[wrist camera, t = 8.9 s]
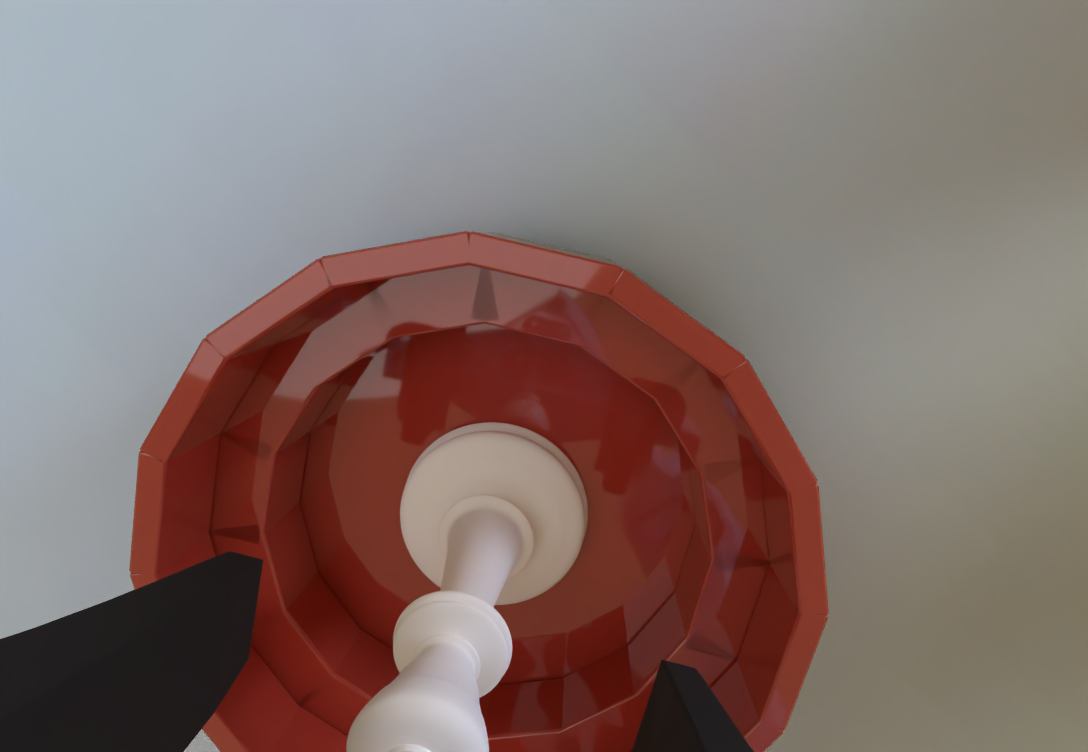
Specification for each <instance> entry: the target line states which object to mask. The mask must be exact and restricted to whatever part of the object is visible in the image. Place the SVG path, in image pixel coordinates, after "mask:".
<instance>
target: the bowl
mask: <svg viewBox="0 0 1088 752" xmlns="http://www.w3.org/2000/svg"><path fill="white" fill-rule="evenodd" d="M485 422H498V423H507V424H512V425H516V426H520V427H523V428H526V429H529V430H531V431H533V432H535V433H537V434H539V435H541V436H543V437H544V438H546V439H548V440H549V441H550V442H552V443H553V444H554V445H555V446H557V447H558V448H559V449H560V450H561V451H562V452H563V453H564V454H565V455H566V456H567V458H568V459H569V460H570V461H571V463H572V464H573V466H574V467H575V469H576V470H577V472H578V474H579V476H580V478H581V481H582V483H583V486H584V489H585V493H586V497H587V504H588V522H587V528H586V533H585V536H584V539H583V542H582V546H581V549H580V552H579V554H578V556H577V558H576V560H575V562H574V564H573V565H572V567H571V568H570V570H569V571H568V572H567V573H566V575H565V576H564V577H563V578H562V579H561V580H560V581H559V582H558V583H556V584H555V585H554V586H553V587H551V588H550V589H549V590H547V591H545V592H544V593H542V594H540V595H538V596H536V597H534V598H531V599H529V600H526V601H522V602H519V603H514V604H507V605H494V607H493V608H494V609H495V610H496V611H497V612H498V613H499V614H500V615H501V616H502V618H503V619H504V621H505V622H506V624H507V626H508V629H509V631H510V634H511V639H512V657H511V661H510V664H509V667H508V669H507V671H506V672H505V674H504V675H503V677H502V678H501V680H500V681H499V683H498V684H497V685H496V686H495V687H494V688H493V689H492V690H491V691H490V692H489V693H487V694H486V695H484V696H482V697H480V698H479V704H480V708H481V713H482V715H483V718H484V721H485V725H486V731H487V736H488V743H489V752H632V749H633V746H634V743H635V740H636V737H637V734H638V730H639V727H640V724H641V721H642V718H643V715H644V712H645V709H646V706H647V703H648V700H649V697H650V693H651V690H652V687H653V684H654V681H655V678H656V675H657V672H658V669H659V666H660V663H661V660H666V661H670V662H674V663H678V664H682V665H686V666H690V667H694V668H696V669H697V671H698V672H699V673H700V675H701V676H702V677H703V679H704V680H705V682H706V683H707V685H708V686H709V687H710V689H711V690H712V692H713V693H714V695H715V696H716V698H717V699H718V701H719V702H720V703H721V705H722V706H723V708H724V709H725V711H726V712H727V714H728V715H729V717H730V718H731V719H732V721H733V722H734V724H735V725H736V727H737V728H738V730H739V731H740V732H741V734H742V735H743V737H744V738H745V740H746V741H747V742H748V744H749V745H750V747H751V748H752V749H753V751H754V752H765V751H766V750H767V749H768V748H769V747H770V746H771V745H772V744H773V743H774V742H775V741H776V740H777V739H778V738H779V737H780V736H781V735H782V734H783V730H785V729H786V726H787V724H788V721H789V719H790V716H791V713H792V711H793V708H794V705H795V703H796V700H797V698H798V695H799V692H800V690H801V687H802V684H803V682H804V679H805V676H806V674H807V671H808V669H809V666H810V663H811V661H812V658H813V655H814V653H815V650H816V648H817V645H818V642H819V640H820V637H821V634H822V632H823V629H824V626H825V624H826V621H827V619H828V616H827V614H828V611H829V610H828V598H827V585H826V573H825V561H824V548H823V536H822V523H821V511H820V499H819V486H818V484H817V479H816V478H815V476H814V474H813V472H812V471H811V469H810V467H809V465H808V464H807V462H806V460H805V458H804V457H803V455H802V453H801V451H800V450H799V448H798V446H797V444H796V443H795V441H794V439H793V437H792V436H791V434H790V432H789V430H788V429H787V427H786V425H785V423H784V422H783V420H782V418H781V416H780V415H779V413H778V411H777V409H776V408H775V406H774V404H773V402H772V401H771V399H770V397H769V395H768V394H767V392H766V390H765V388H764V387H763V385H762V383H761V381H760V380H759V378H758V376H757V374H756V373H755V371H754V369H753V367H752V366H751V364H750V362H749V361H748V360H747V359H746V358H745V357H744V355H743V354H741V353H740V352H739V351H737V350H736V349H734V348H733V347H732V346H730V345H729V344H728V343H726V342H725V341H724V340H722V339H721V338H719V337H718V336H717V335H715V334H714V333H713V332H711V331H710V330H709V329H707V328H706V327H704V326H703V325H702V324H700V323H699V322H698V321H696V320H695V319H694V318H692V317H691V316H689V315H688V314H687V313H685V312H684V311H683V310H681V309H680V308H679V307H677V306H676V305H674V304H673V303H672V302H670V301H669V300H668V299H666V298H665V297H664V296H662V295H661V294H660V293H658V292H657V291H655V290H654V289H653V288H651V287H650V286H649V285H647V284H646V283H645V282H643V281H642V280H640V279H639V278H638V277H636V276H635V275H634V274H632V273H631V272H630V271H628V270H627V269H625V268H624V267H622V266H621V265H619V264H618V263H616V262H613V261H612V260H610V259H606V258H602V257H597V256H593V255H589V254H585V253H580V252H576V251H572V250H568V249H563V248H559V247H555V246H551V245H546V244H542V243H538V242H534V241H529V240H525V239H521V238H517V237H512V236H508V235H504V234H499V233H487V232H476V231H463V232H458V233H452V234H447V235H441V236H435V237H430V238H424V239H418V240H413V241H407V242H401V243H396V244H390V245H385V246H379V247H373V248H368V249H362V250H356V251H351V252H345V253H339V254H334V255H328V256H323V257H322V258H321V259H317V260H315V261H314V262H312V263H311V264H309V265H308V266H306V267H305V268H304V269H302V270H301V271H299V272H298V273H296V274H295V275H293V276H292V277H290V278H289V279H288V280H286V281H285V282H283V283H282V284H280V285H279V286H277V287H276V288H274V289H273V290H272V291H270V292H269V293H267V294H266V295H264V296H263V297H261V298H260V299H258V300H257V301H256V302H254V303H253V304H251V305H250V306H248V307H247V308H245V309H244V310H242V311H241V312H240V313H238V314H237V315H235V316H234V317H232V318H231V319H229V320H228V321H226V322H225V323H224V324H222V325H221V326H219V327H218V328H216V329H215V330H213V331H212V332H210V333H209V334H208V335H207V336H206V338H204V339H203V340H202V342H201V343H200V345H199V347H198V349H197V350H196V352H195V354H194V356H193V357H192V359H191V361H190V363H189V364H188V366H187V368H186V369H185V371H184V373H183V375H182V376H181V378H180V380H179V382H178V383H177V385H176V387H175V389H174V390H173V392H172V394H171V396H170V397H169V399H168V401H167V403H166V404H165V406H164V408H163V409H162V411H161V413H160V415H159V416H158V418H157V420H156V422H155V423H154V425H153V427H152V429H151V430H150V432H149V434H148V436H147V437H146V439H145V441H144V443H143V444H142V446H141V448H140V450H141V451H140V452H139V458H138V470H137V483H136V495H135V508H134V520H133V532H132V545H131V557H130V570H129V571H130V572H131V574H130V577H131V580H132V583H133V586H134V589H138V588H140V587H143V586H145V585H148V584H150V583H152V582H155V581H157V580H160V579H162V578H165V577H167V576H169V575H172V574H174V573H176V572H179V571H181V570H184V569H186V568H188V567H191V566H193V565H196V564H198V563H200V562H203V561H205V560H208V559H210V558H213V557H215V556H218V555H221V554H224V553H227V552H229V551H231V552H235V553H239V554H243V555H247V556H251V557H255V558H259V559H263V566H262V572H261V579H260V586H259V593H258V600H257V606H256V613H255V620H254V627H253V634H252V640H251V647H250V654H249V659H248V661H247V662H246V664H245V665H244V667H243V669H242V670H241V672H240V673H239V675H238V677H237V678H236V680H235V681H234V683H233V685H232V686H231V688H230V689H229V691H228V693H227V694H226V696H225V697H224V699H223V700H222V702H221V703H220V705H219V706H218V708H217V709H216V711H215V712H214V714H213V715H212V716H211V718H210V719H209V720H208V721H207V723H206V724H205V725H204V726H203V728H202V730H203V731H204V732H205V733H206V735H207V736H208V737H209V738H210V739H211V741H212V742H213V743H214V744H215V746H216V747H217V748H218V749H219V750H220V752H346V745H347V738H348V734H349V731H350V728H351V726H352V724H353V722H354V720H355V718H356V717H357V715H358V714H359V713H360V711H361V710H362V709H363V708H364V706H365V705H366V704H367V703H368V702H369V701H370V700H371V699H372V698H373V697H374V696H375V695H376V694H377V693H378V692H379V691H380V690H382V689H383V688H384V687H385V686H387V685H389V684H390V683H391V682H392V681H393V680H394V679H395V678H396V677H397V676H398V675H399V674H400V672H399V671H398V668H397V666H396V663H395V660H394V655H393V634H394V629H395V626H396V623H397V620H398V618H399V617H400V615H401V614H402V612H403V611H404V610H405V609H406V607H407V606H408V605H410V604H411V603H412V602H413V601H415V600H416V599H418V598H420V597H422V596H424V595H426V594H429V593H433V592H437V591H440V589H441V588H440V587H439V586H437V585H436V584H435V583H433V582H432V581H431V580H430V579H429V578H428V577H427V576H426V575H425V574H424V573H423V572H422V571H421V570H420V569H419V567H418V566H417V565H416V563H415V562H414V560H413V559H412V557H411V555H410V553H409V551H408V549H407V547H406V544H405V541H404V538H403V535H402V530H401V524H400V505H401V499H402V494H403V491H404V488H405V485H406V482H407V479H408V476H409V474H410V471H411V469H412V467H413V466H414V464H415V462H416V461H417V459H418V458H419V457H420V455H421V454H422V453H423V452H424V451H425V450H426V448H428V447H429V446H430V445H431V444H432V443H433V442H434V441H436V440H437V439H438V438H440V437H441V436H443V435H445V434H447V433H448V432H450V431H453V430H455V429H457V428H460V427H463V426H467V425H471V424H476V423H485Z"/></svg>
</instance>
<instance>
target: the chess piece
mask: <svg viewBox="0 0 1088 752" xmlns="http://www.w3.org/2000/svg"><path fill="white" fill-rule="evenodd" d="M587 522H588V504H587V497H586V493H585V489H584V486H583V483H582V481H581V478H580V476H579V474H578V472H577V470H576V469H575V467H574V466H573V464H572V463H571V461H570V460H569V459H568V458H567V456H566V455H565V454H564V453H563V452H562V451H561V450H560V449H559V448H558V447H557V446H555V445H554V444H553V443H552V442H550V441H549V440H548V439H546V438H544V437H543V436H541V435H539V434H537V433H535V432H533V431H531V430H529V429H526V428H523V427H520V426H516V425H512V424H507V423H498V422H485V423H476V424H471V425H467V426H463V427H460V428H457V429H455V430H453V431H450V432H448V433H447V434H445V435H443V436H441V437H440V438H438V439H437V440H436V441H434V442H433V443H432V444H431V445H430V446H429V447H428V448H426V450H425V451H424V452H423V453H422V454H421V455H420V457H419V458H418V459H417V461H416V462H415V464H414V466H413V467H412V469H411V471H410V474H409V476H408V479H407V482H406V485H405V488H404V491H403V494H402V499H401V505H400V524H401V530H402V535H403V538H404V541H405V544H406V547H407V549H408V551H409V553H410V555H411V557H412V559H413V560H414V562H415V563H416V565H417V566H418V567H419V569H420V570H421V571H422V572H423V573H424V574H425V575H426V576H427V577H428V578H429V579H430V580H431V581H432V582H433V583H435V584H436V585H437V586H439V587H440V588H441V589H440V591H437V592H433V593H429V594H426V595H424V596H422V597H420V598H418V599H416V600H415V601H413V602H412V603H411V604H410V605H408V606H407V607H406V609H405V610H404V611H403V612H402V614H401V615H400V617H399V618H398V620H397V623H396V626H395V629H394V634H393V655H394V660H395V663H396V666H397V668H398V671H399V672H400V674H399V675H398V676H397V677H396V678H395V679H394V680H393V681H392V682H391V683H390V684H389V685H387V686H385V687H384V688H383V689H382V690H380V691H379V692H378V693H377V694H376V695H375V696H374V697H373V698H372V699H371V700H370V701H369V702H368V703H367V704H366V705H365V706H364V708H363V709H362V710H361V711H360V713H359V714H358V715H357V717H356V718H355V720H354V722H353V724H352V726H351V728H350V731H349V734H348V738H347V745H346V752H489V743H488V736H487V731H486V725H485V721H484V718H483V715H482V713H481V708H480V704H479V698H480V697H482V696H484V695H486V694H487V693H489V692H490V691H491V690H492V689H493V688H494V687H495V686H496V685H497V684H498V683H499V681H500V680H501V678H502V677H503V675H504V674H505V672H506V671H507V669H508V667H509V664H510V661H511V657H512V639H511V634H510V631H509V629H508V626H507V624H506V622H505V621H504V619H503V618H502V616H501V615H500V614H499V613H498V612H497V611H496V610H495V609H494V608H493V607H494V605H507V604H514V603H519V602H522V601H526V600H529V599H531V598H534V597H536V596H538V595H540V594H542V593H544V592H545V591H547V590H549V589H550V588H551V587H553V586H554V585H555V584H556V583H558V582H559V581H560V580H561V579H562V578H563V577H564V576H565V575H566V573H567V572H568V571H569V570H570V568H571V567H572V565H573V564H574V562H575V560H576V558H577V556H578V554H579V552H580V549H581V546H582V542H583V539H584V536H585V533H586V528H587Z"/></svg>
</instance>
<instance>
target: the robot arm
mask: <svg viewBox="0 0 1088 752" xmlns="http://www.w3.org/2000/svg"><path fill="white" fill-rule="evenodd" d="M262 566H263V559H259V558H255V557H251V556H247V555H243V554H239V553H235V552H231V551H229V552H227V553H224V554H221V555H218V556H215V557H213V558H210V559H208V560H205V561H203V562H200V563H198V564H196V565H193V566H191V567H188V568H186V569H184V570H181V571H179V572H176V573H174V574H172V575H169V576H167V577H165V578H162V579H160V580H157V581H155V582H152V583H150V584H148V585H145V586H143V587H140V588H138V589H135V590H133V591H131V592H128V593H126V594H123V595H121V596H118V597H116V598H113V599H111V600H108V601H106V602H103V603H100V604H98V605H95V606H92V607H90V608H87V609H84V610H82V611H79V612H76V613H73V614H71V615H68V616H65V617H63V618H60V619H57V620H55V621H52V622H49V623H46V624H44V625H41V626H38V627H36V628H33V629H30V630H27V631H24V632H21V633H18V634H15V635H12V636H9V637H6V638H2V639H0V752H183V751H184V750H185V749H186V748H187V746H188V745H189V744H190V743H191V741H192V740H193V739H194V738H195V736H196V735H197V734H198V733H199V731H200V730H201V729H202V728H203V726H204V725H205V724H206V723H207V721H208V720H209V719H210V718H211V716H212V715H213V714H214V712H215V711H216V709H217V708H218V706H219V705H220V703H221V702H222V700H223V699H224V697H225V696H226V694H227V693H228V691H229V689H230V688H231V686H232V685H233V683H234V681H235V680H236V678H237V677H238V675H239V673H240V672H241V670H242V669H243V667H244V665H245V664H246V662H247V661H248V659H249V654H250V647H251V640H252V634H253V627H254V620H255V613H256V606H257V600H258V593H259V586H260V579H261V572H262ZM632 752H754V751H753V749H752V748H751V747H750V745H749V744H748V742H747V741H746V740H745V738H744V737H743V735H742V734H741V732H740V731H739V730H738V728H737V727H736V725H735V724H734V722H733V721H732V719H731V718H730V717H729V715H728V714H727V712H726V711H725V709H724V708H723V706H722V705H721V703H720V702H719V701H718V699H717V698H716V696H715V695H714V693H713V692H712V690H711V689H710V687H709V686H708V685H707V683H706V682H705V680H704V679H703V677H702V676H701V675H700V673H699V672H698V671H697V669H696V668H694V667H690V666H686V665H682V664H678V663H674V662H670V661H666V660H661V663H660V666H659V669H658V672H657V675H656V678H655V681H654V684H653V687H652V690H651V693H650V697H649V700H648V703H647V706H646V709H645V712H644V715H643V718H642V721H641V724H640V727H639V730H638V734H637V737H636V740H635V743H634V746H633V749H632Z"/></svg>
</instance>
